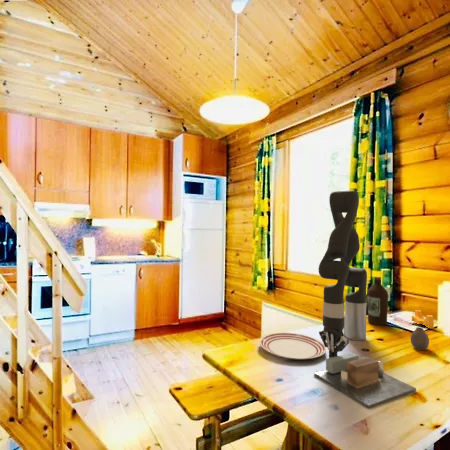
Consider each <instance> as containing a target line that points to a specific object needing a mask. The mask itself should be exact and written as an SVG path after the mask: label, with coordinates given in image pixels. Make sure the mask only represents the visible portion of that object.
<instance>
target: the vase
mask: <svg viewBox="0 0 450 450" xmlns="http://www.w3.org/2000/svg"><path fill="white" fill-rule="evenodd" d="M410 345H411V346H412V347H413V348H415V350H419V351H425V350H427V349H428V348H429V345H430V338H429V336H428V334H427V333H426V331H425V330H424V328H423V327H421V326H420V327H418V326H417V327H416V328H415V330H414V331H412V333H411V335H410Z"/></svg>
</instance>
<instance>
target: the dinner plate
mask: <svg viewBox="0 0 450 450" xmlns="http://www.w3.org/2000/svg"><path fill="white" fill-rule="evenodd" d="M259 344H260V346H261V348H263V350H265V351H266V352H267V353H269V354H271V355H274V356H277V357H280V358H282V359H283V358H284V359H287V360H288V359H289V360H301V361H302V360H310V359H317V358H319V357H321V356H323V355H325V353H326V352H327V347H325V346H324V343H323V341H322V342H321V340H319V339H317V338H314V337H312V336H308V335H305V334H300V333H295V332H274V333H269V334H267V335H265V336H262V337H261V338H260V339H259Z"/></svg>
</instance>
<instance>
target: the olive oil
mask: <svg viewBox="0 0 450 450" xmlns="http://www.w3.org/2000/svg"><path fill="white" fill-rule="evenodd" d="M373 278H374V280H373V282H374V283H373V284H372V285H371V286H370V287H369V288H368V289H367V291H366V304H367V322H368V323H371V324H373V325H378V326H379V325H381V326H382V325H387V324H388V308H389V305H388V304H389V293H388V290H387V289H386V288H385V287H384V286H383V285H382V278H381V276H374V277H373Z"/></svg>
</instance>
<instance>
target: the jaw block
mask: <svg viewBox="0 0 450 450" xmlns="http://www.w3.org/2000/svg"><path fill="white" fill-rule="evenodd" d="M378 361H379V360H376V359H375V358H372V357H370V356H366V357H362V358H359V359H358V360H353V361H349V362H347V372H348V381H349V382H351V383H353V384H355V385H356V386H358V385H361V384H364V383H368V382H371V381H375V380H378Z"/></svg>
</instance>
